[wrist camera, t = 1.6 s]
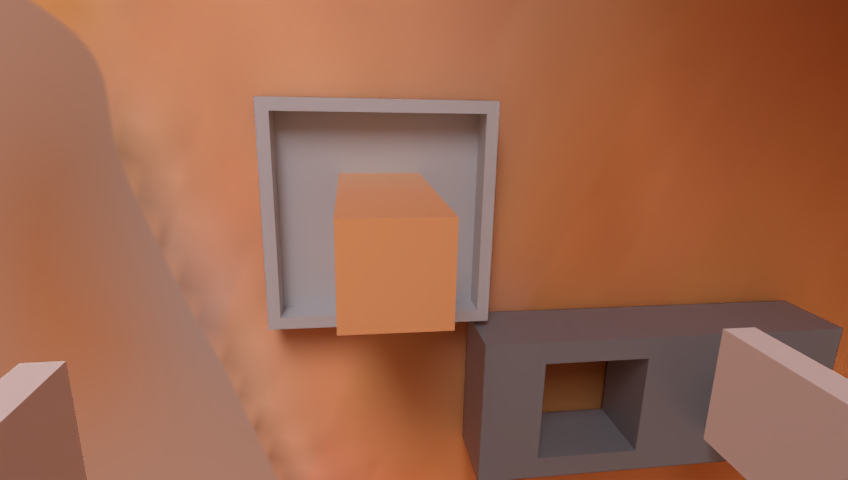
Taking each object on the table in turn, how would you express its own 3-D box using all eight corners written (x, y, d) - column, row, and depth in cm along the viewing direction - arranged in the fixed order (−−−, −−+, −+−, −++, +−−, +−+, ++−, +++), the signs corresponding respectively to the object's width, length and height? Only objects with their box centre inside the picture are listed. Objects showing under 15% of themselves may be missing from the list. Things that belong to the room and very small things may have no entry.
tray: (260, 96, 25) (253, 96, 23) (489, 100, 26) (499, 100, 25) (274, 313, 28) (268, 329, 26) (478, 306, 29) (487, 320, 28)
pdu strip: (467, 313, 29) (525, 417, 20) (784, 300, 32) (967, 387, 23) (462, 435, 32) (512, 582, 22) (759, 413, 34) (918, 536, 25)
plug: (338, 173, 26) (333, 218, 16) (418, 173, 26) (458, 217, 17) (340, 250, 27) (337, 335, 17) (417, 248, 28) (454, 330, 18)
